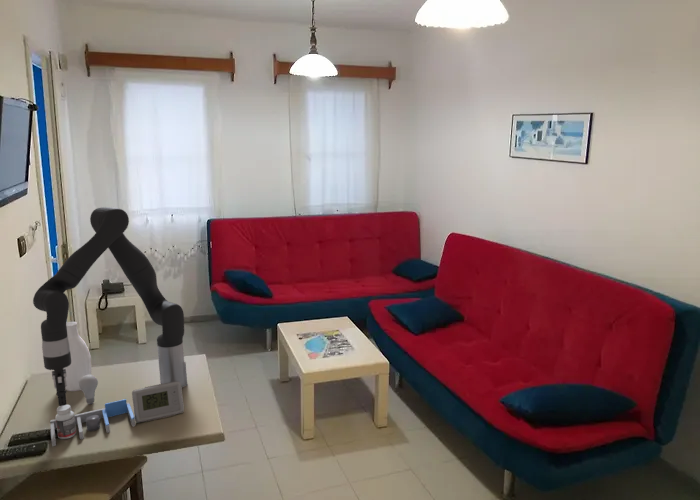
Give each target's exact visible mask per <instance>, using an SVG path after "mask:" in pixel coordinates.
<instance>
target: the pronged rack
mask: <svg viewBox="0 0 700 500" xmlns="http://www.w3.org/2000/svg"><path fill="white" fill-rule="evenodd" d="M124 414H127V416H128V418H129V421H130V425H131V426H132V427H135V426H136V421H135V415H134V411H133V409H132V406H131V404H130V402H127V399H126V398H125V399H124V398H123V399H120V400H115V401H110V402H106V403H104V407H102V408H98V409H94V410H90V411H85V412H82V413H77V414H74V416H75V425H77V428H78V434H79V439H80V440H83V439H85V438H84V431H83V426H82V424H83V423H85V424H86V425H85V426H86V431H88V432H94V431H97V430H99V429H100V428H101V422H100V421H101V419H102V420H103V423H104V427H105V431H106V434H107V433H111V430H110V429H111V428H110V423H109V418H110V417H114V416H119V415H120V416H121V415H124ZM49 422H50V423H49V424H50V439H51V447H56V446H57V444H56V443H57V442H56V431H55V430H57V429H56V428H57V426H56V419H50V421H49Z"/></svg>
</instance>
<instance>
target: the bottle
mask: <svg viewBox="0 0 700 500" xmlns="http://www.w3.org/2000/svg"><path fill="white" fill-rule="evenodd" d="M66 326H67V335H68V340H69V344H70V353H71V364H70V365H69V366H68V367H65V368H63V369H66V375H67V377H66V383H67V386H66V387H65V390H66V391H68V392H78V391H82V390H81V389H80V387H79V381H80V379H81V378H82V377H83V376H85V375H92V370H93V369H92V355H91V353H90V350H89V347H88V345H87V343H86V341H85V340H84V339H83V338H82V337H81V335H80V334H79V330H78V322H77V321H67V322H66Z"/></svg>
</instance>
